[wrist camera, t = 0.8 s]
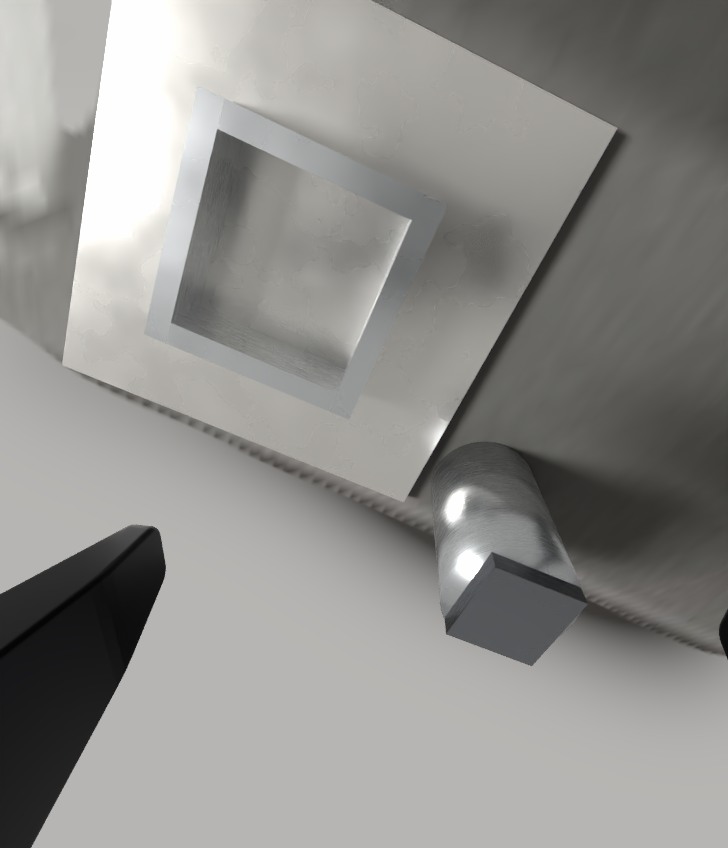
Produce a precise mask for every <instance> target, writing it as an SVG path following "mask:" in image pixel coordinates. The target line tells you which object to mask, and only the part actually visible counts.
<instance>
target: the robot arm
mask: <svg viewBox="0 0 728 848" xmlns="http://www.w3.org/2000/svg"><path fill="white" fill-rule="evenodd" d="M165 571H166V565H165V559H164V553H163V548H162V542H161V536H160V532H159V531H158V529H157V528H155V527H153V526H143V525H130V526H128V527H126V528H124V529H122V530H120V531H118V532H116V533H114V534H113V535H111V536H109V537H107V538H105V539H103V540H101V541H99V542H98V543H96V544H94V545H92V546H90V547H88V548H86V549H84V550H83V551H81V552H79V553H77V554H75V555H73V556H71V557H69V558H68V559H66V560H64V561H62V562H60V563H58V564H56V565H54V566H52V567H51V568H49V569H47V570H45V571H43V572H41V573H40V574H37V575H36V576H34V577H32V578H30V579H28V580H26V581H25V582H22V583H21V584H19V585H17V586H15V587H13V588H11V589H9V590H8V591H6V592H4V593H2V594H0V848H31V847H32V845H33V843H34V841H35V839H36V837H37V836H38V834H39V832H40V830H41V828H42V826H43V824H44V823H45V821H46V819H47V817H48V815H49V813H50V811H51V809H52V807H53V806H54V804H55V802H56V800H57V798H58V797H59V795H60V793H61V791H62V789H63V787H64V785H65V784H66V782H67V780H68V778H69V776H70V774H71V772H72V770H73V769H74V767H75V764H76V763H77V761H78V759H79V757H80V756H81V754H82V752H83V750H84V748H85V746H86V744H87V743H88V740H89V739H90V737H91V735H92V733H93V731H94V729H95V728H96V726H97V724H98V722H99V720H100V718H101V717H102V714H103V713H104V711H105V709H106V707H107V705H108V704H109V702H110V700H111V698H112V696H113V694H114V692H115V690H116V689H117V687H118V685H119V683H120V681H121V679H122V677H123V675H124V673H125V671H126V669H127V667H128V664H129V662H130V660H131V658H132V655H133V653H134V651H135V648H136V646H137V643H138V641H139V639H140V636H141V634H142V631H143V629H144V626H145V624H146V621H147V619H148V617H149V614H150V612H151V609H152V607H153V605H154V602H155V600H156V597H157V595H158V593H159V590H160V588H161V585H162V583H163V580H164V577H165ZM719 636H720V641H721V644H722V646H723V649H724V651H725V654H726V656H727V659H728V610H727V612H726V613H725V615H724V617H723V619H722V621H721V623H720V627H719Z"/></svg>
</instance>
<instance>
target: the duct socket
mask: <svg viewBox="0 0 728 848" xmlns="http://www.w3.org/2000/svg"><path fill="white" fill-rule="evenodd" d="M616 130H617V128H616V127H614V126H612V125H610V124H609V123H607V122H605V121H603V120H601V119H599V118H597V117H595V116H593V115H591V114H589V113H587V112H585V111H584V110H582V109H580V108H578V107H576V106H574V105H572V104H570V103H568V102H566V101H564V100H562V99H560V98H558V97H557V96H555V95H553V94H551V93H549V92H547V91H545V90H543V89H541V88H539V87H537V86H535V85H533V84H532V83H530V82H528V81H526V80H524V79H522V78H520V77H518V76H516V75H514V74H512V73H510V72H508V71H507V70H505V69H503V68H501V67H499V66H497V65H495V64H493V63H491V62H489V61H487V60H485V59H483V58H481V57H480V56H478V55H476V54H474V53H472V52H470V51H468V50H466V49H464V48H462V47H460V46H458V45H456V44H455V43H453V42H451V41H449V40H447V39H445V38H443V37H441V36H439V35H437V34H435V33H433V32H431V31H430V30H428V29H426V28H424V27H422V26H420V25H418V24H416V23H414V22H412V21H410V20H408V19H406V18H404V17H403V16H401V15H399V14H397V13H395V12H393V11H391V10H389V9H387V8H385V7H383V6H381V5H379V4H378V3H376V2H374V1H372V0H112V7H111V14H110V21H109V28H108V36H107V43H106V50H105V57H104V65H103V72H102V79H101V86H100V94H99V101H98V108H97V116H96V123H95V130H94V137H93V145H92V152H91V159H90V166H89V174H88V181H87V188H86V195H85V203H84V210H83V217H82V224H81V232H80V239H79V246H78V254H77V261H76V268H75V275H74V283H73V290H72V297H71V304H70V312H69V319H68V326H67V333H66V341H65V348H64V355H63V362H62V365H63V366H66V367H68V368H71V369H73V370H76V371H78V372H81V373H83V374H86V375H88V376H91V377H93V378H96V379H98V380H101V381H103V382H106V383H108V384H111V385H113V386H115V387H118V388H120V389H123V390H125V391H128V392H130V393H133V394H135V395H138V396H140V397H143V398H145V399H148V400H150V401H153V402H155V403H158V404H160V405H163V406H165V407H168V408H170V409H173V410H175V411H178V412H180V413H183V414H185V415H188V416H190V417H193V418H195V419H198V420H200V421H202V422H205V423H207V424H210V425H212V426H215V427H217V428H220V429H222V430H225V431H227V432H230V433H232V434H235V435H237V436H240V437H242V438H245V439H247V440H250V441H252V442H255V443H257V444H260V445H262V446H265V447H267V448H270V449H272V450H275V451H277V452H280V453H282V454H285V455H287V456H289V457H292V458H294V459H297V460H299V461H302V462H304V463H307V464H309V465H312V466H314V467H317V468H319V469H322V470H324V471H327V472H329V473H332V474H334V475H337V476H339V477H342V478H344V479H347V480H349V481H352V482H354V483H357V484H359V485H362V486H364V487H367V488H369V489H372V490H374V491H376V492H379V493H381V494H384V495H386V496H389V497H391V498H394V499H396V500H399V501H401V502H404V501H405V499H406V497H407V496H408V494H409V492H410V490H411V489H412V487H413V485H414V483H415V482H416V480H417V478H418V476H419V475H420V473H421V471H422V469H423V468H424V466H425V464H426V462H427V461H428V459H429V457H430V455H431V454H432V452H433V450H434V448H435V447H436V445H437V443H438V441H439V440H440V438H441V436H442V434H443V433H444V431H445V429H446V427H447V426H448V424H449V422H450V420H451V419H452V417H453V415H454V413H455V412H456V410H457V408H458V406H459V405H460V403H461V401H462V399H463V398H464V396H465V394H466V392H467V391H468V389H469V387H470V385H471V384H472V382H473V380H474V378H475V377H476V375H477V373H478V371H479V370H480V368H481V366H482V364H483V363H484V361H485V359H486V357H487V356H488V354H489V352H490V350H491V349H492V347H493V345H494V343H495V342H496V340H497V338H498V336H499V335H500V333H501V331H502V329H503V328H504V326H505V324H506V322H507V321H508V319H509V317H510V315H511V314H512V312H513V310H514V308H515V307H516V305H517V303H518V301H519V300H520V298H521V296H522V294H523V293H524V291H525V289H526V287H527V286H528V284H529V282H530V280H531V279H532V277H533V275H534V273H535V272H536V270H537V268H538V266H539V265H540V263H541V261H542V259H543V258H544V256H545V254H546V252H547V251H548V249H549V247H550V245H551V244H552V242H553V240H554V238H555V237H556V235H557V233H558V231H559V230H560V228H561V226H562V224H563V223H564V221H565V219H566V217H567V216H568V214H569V212H570V210H571V209H572V207H573V205H574V203H575V202H576V200H577V198H578V196H579V195H580V193H581V191H582V189H583V188H584V186H585V184H586V182H587V181H588V179H589V177H590V175H591V174H592V172H593V170H594V168H595V167H596V165H597V163H598V161H599V160H600V158H601V156H602V154H603V153H604V151H605V149H606V147H607V146H608V144H609V142H610V140H611V139H612V137H613V135H614V133H615V132H616Z"/></svg>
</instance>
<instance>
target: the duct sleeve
mask: <svg viewBox="0 0 728 848" xmlns="http://www.w3.org/2000/svg"><path fill="white" fill-rule="evenodd" d="M431 494H432V507H433V519H434V531H435V544H436V555H437V568H438V580H439V593H440V605H441V611H442V614H443V617H444V619H445V625H446V634H447V635H450V636H453V637H455V638H458V639H461V640H463V641H466V642H469V643H471V644H474V645H477V646H480V647H482V648H485V649H488V650H490V651H493V652H496V653H498V654H501V655H503V656H506V657H509V658H512V659H514V660H517V661H520V662H523V663H525V664H528V665H530V666H532V665H533V664H534V663H535V662H536V661H537V659H539V658H540V656H541V655H542V654H543V653H544V652H545V651H546V650H547V649H548V647H549V646H550V645H551V644H552V643H553V642H554V641H555V640H556V639H557V638H558V637H559V636H560V635H561V634H563V633H564V632H565V631H566V630H567V629H568V628H569V627H571V625H572V624H573V623H574V622H575V620H576V619H577V617H578V615H579V613H580V612H581V611H582V610H583V609H584V608H585V607H586V606H587V604H588V603H587V601H586V599H585V596H584V594H583V591H582V586H581V584H580V581H579V579H578V576H577V574H576V572H575V570H574V567H573V565H572V563H571V561H570V558H569V556H568V554H567V551H566V549H565V547H564V545H563V542H562V540H561V538H560V536H559V533H558V531H557V529H556V526H555V524H554V522H553V520H552V517H551V515H550V513H549V510H548V508H547V506H546V504H545V501H544V499H543V497H542V495H541V492H540V490H539V488H538V485H537V483H536V481H535V479H534V476H533V474H532V472H531V470H530V467H529V465H528V464H527V462H526V461H525V459H524V458H523V457H522V456H521V455H520V454H519V453H517V452H516V451H515V450H513V449H511V448H509V447H507V446H504V445H502V444H498V443H492V442H477V443H471V444H467V445H464V446H461V447H459V448H457V449H455V450H453V451H452V452H450V453H449V454H448V455H446V456H445V457H444V458H443V459H442V460H441V461H440V463H439V464H438V466H437V467H436V469H435V471H434V473H433V476H432V481H431Z"/></svg>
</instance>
